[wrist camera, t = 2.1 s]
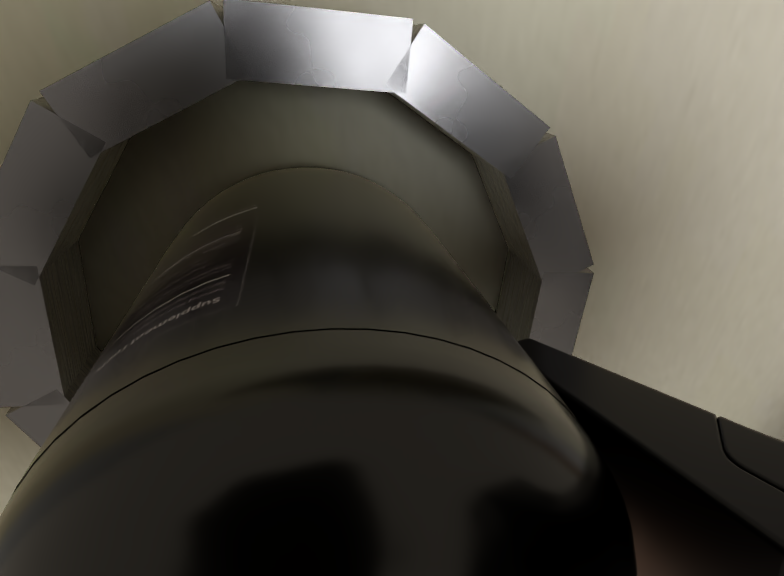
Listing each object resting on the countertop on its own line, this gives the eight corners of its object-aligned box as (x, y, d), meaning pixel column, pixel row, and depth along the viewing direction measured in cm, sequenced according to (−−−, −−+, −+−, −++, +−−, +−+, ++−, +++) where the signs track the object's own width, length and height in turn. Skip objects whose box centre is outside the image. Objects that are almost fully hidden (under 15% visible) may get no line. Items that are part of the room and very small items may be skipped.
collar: (639, 218, 14) (691, 244, 12) (374, 533, 17) (384, 591, 15) (186, -148, 9) (161, -196, 7) (-61, 382, 12) (-121, 441, 10)
